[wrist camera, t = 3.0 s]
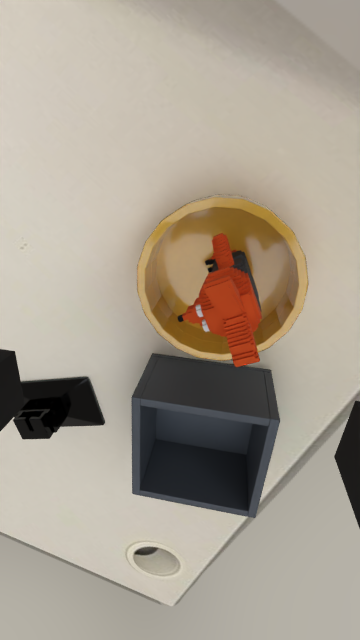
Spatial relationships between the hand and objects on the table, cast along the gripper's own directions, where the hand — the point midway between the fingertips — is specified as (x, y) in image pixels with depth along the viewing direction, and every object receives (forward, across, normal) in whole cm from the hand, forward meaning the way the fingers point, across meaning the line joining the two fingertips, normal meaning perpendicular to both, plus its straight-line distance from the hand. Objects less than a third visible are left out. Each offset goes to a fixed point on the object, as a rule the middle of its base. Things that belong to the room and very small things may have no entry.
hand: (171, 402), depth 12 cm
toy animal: (+18, +1, 0) cm, 19 cm away
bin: (+19, +1, -16) cm, 25 cm away
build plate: (+19, -18, -19) cm, 32 cm away
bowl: (+19, +1, 0) cm, 19 cm away
